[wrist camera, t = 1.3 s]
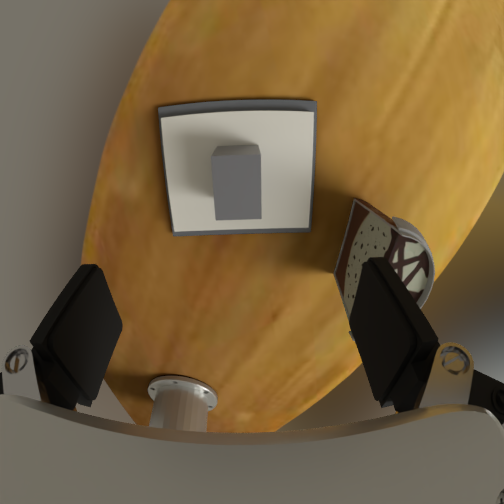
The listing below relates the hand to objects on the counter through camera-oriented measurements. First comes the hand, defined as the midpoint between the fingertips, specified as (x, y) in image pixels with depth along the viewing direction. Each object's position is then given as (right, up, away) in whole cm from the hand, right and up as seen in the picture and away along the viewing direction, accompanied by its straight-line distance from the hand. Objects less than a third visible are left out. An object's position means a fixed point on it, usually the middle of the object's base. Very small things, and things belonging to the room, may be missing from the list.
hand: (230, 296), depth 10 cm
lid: (0, +9, +15) cm, 18 cm away
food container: (+14, +3, +20) cm, 25 cm away
